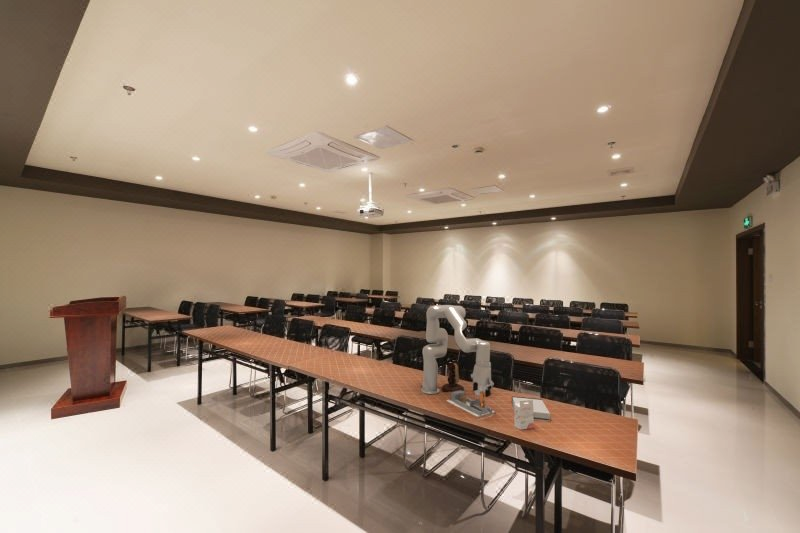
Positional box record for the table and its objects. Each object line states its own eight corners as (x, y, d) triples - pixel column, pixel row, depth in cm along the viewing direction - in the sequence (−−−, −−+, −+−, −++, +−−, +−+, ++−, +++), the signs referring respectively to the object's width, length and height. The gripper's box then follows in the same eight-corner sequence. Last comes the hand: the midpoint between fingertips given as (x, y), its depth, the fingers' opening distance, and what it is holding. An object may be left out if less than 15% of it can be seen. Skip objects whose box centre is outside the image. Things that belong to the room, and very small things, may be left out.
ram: (469, 408, 196) (470, 389, 197) (477, 406, 199) (478, 388, 200) (480, 413, 189) (480, 394, 189) (488, 411, 192) (489, 392, 192)
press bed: (445, 403, 209) (446, 392, 209) (463, 399, 216) (463, 389, 216) (476, 419, 186) (476, 407, 186) (494, 414, 193) (495, 403, 193)
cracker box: (482, 391, 232) (483, 360, 233) (491, 393, 229) (491, 362, 229) (473, 396, 221) (474, 364, 222) (482, 399, 218) (482, 366, 218)
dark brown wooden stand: (459, 396, 222) (459, 365, 223) (438, 391, 230) (439, 362, 231) (467, 390, 235) (467, 361, 236) (447, 386, 243) (447, 357, 243)
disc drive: (541, 407, 207) (541, 398, 208) (550, 422, 185) (550, 413, 186) (511, 404, 211) (511, 396, 211) (516, 418, 189) (516, 409, 189)
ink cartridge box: (527, 424, 181) (527, 396, 181) (533, 428, 176) (534, 399, 177) (513, 426, 178) (514, 397, 179) (519, 430, 174) (519, 401, 174)
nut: (458, 402, 207) (458, 395, 207) (463, 401, 209) (463, 394, 209) (462, 404, 203) (463, 397, 203) (468, 403, 205) (468, 396, 205)
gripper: (467, 360, 199) (466, 389, 199) (489, 368, 184) (487, 399, 184) (476, 358, 203) (475, 387, 203) (498, 366, 188) (497, 397, 188)
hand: (481, 393), depth 193 cm, fingers open, 9 cm apart
